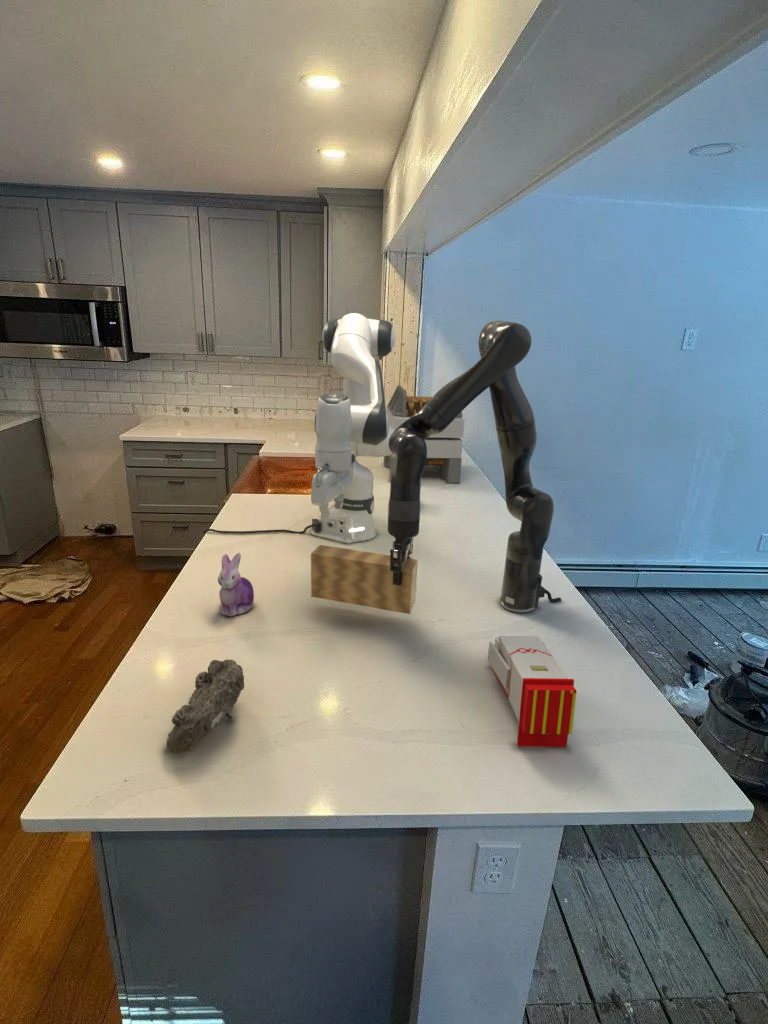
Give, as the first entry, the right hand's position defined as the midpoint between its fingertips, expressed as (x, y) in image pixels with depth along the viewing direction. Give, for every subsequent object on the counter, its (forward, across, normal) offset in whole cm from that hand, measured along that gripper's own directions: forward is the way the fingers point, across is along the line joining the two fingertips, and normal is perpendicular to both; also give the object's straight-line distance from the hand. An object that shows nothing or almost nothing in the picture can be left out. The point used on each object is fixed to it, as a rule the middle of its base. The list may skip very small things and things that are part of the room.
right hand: (400, 578), depth 139 cm
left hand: (-12, +6, +20) cm, 24 cm away
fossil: (+12, -45, +25) cm, 53 cm away
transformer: (+13, +138, +26) cm, 141 cm away
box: (+8, 0, +10) cm, 12 cm away
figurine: (+12, -7, +41) cm, 44 cm away
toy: (+13, -20, -32) cm, 40 cm away
